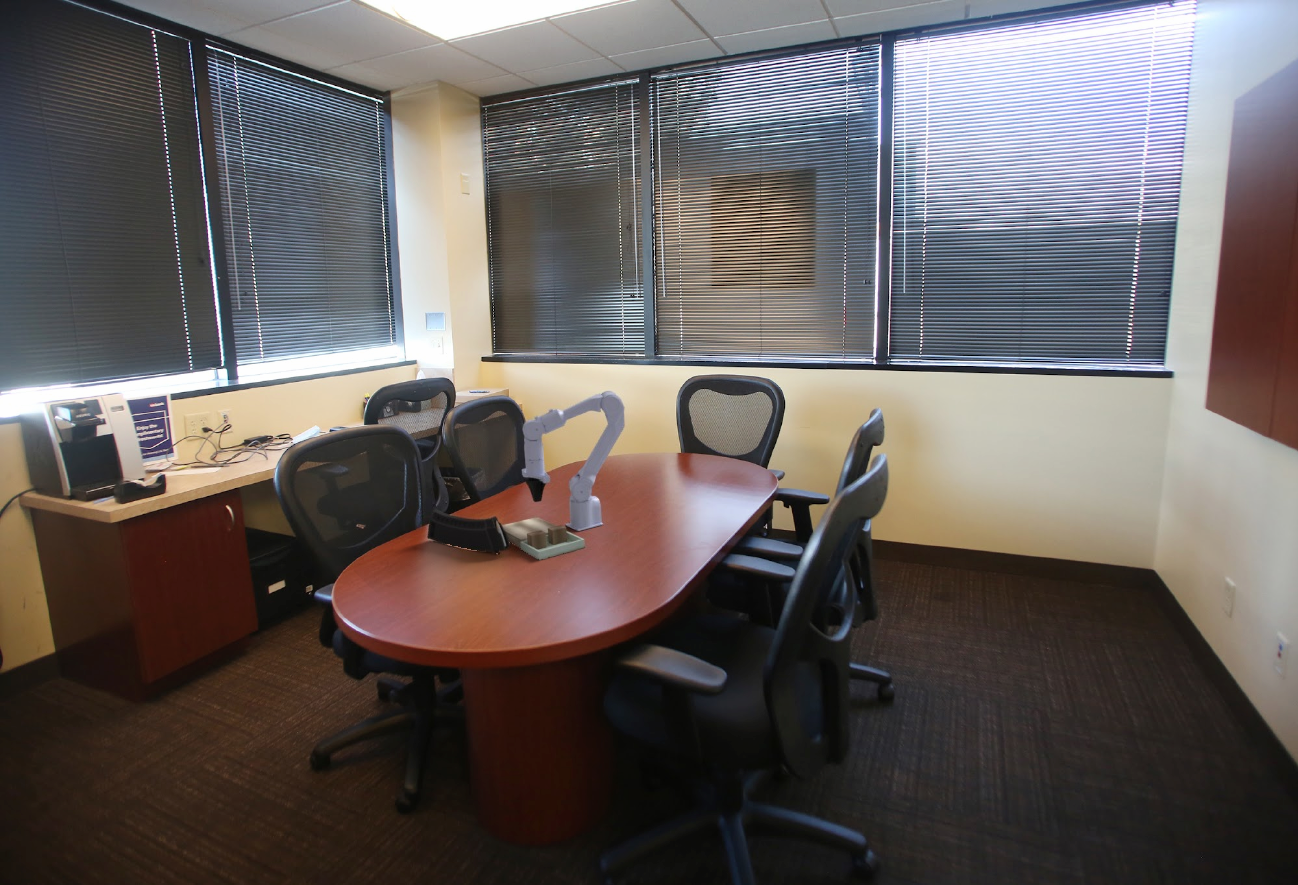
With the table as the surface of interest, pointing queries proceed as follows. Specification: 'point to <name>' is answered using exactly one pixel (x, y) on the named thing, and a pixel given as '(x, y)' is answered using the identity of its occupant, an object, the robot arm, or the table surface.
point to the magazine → (468, 532)
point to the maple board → (525, 529)
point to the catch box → (554, 547)
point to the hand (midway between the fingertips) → (537, 501)
